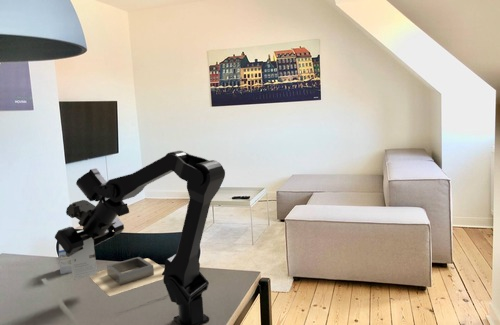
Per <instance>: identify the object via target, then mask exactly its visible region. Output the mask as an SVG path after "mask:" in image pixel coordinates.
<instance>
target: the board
mask: <svg viewBox="0 0 500 325" xmlns="http://www.w3.org/2000/svg"><path fill="white" fill-rule="evenodd" d="M143 259H144V260H145V261H147V262H148V263H150V264H152V265H153V269H154V275H152V276H149V277H146V278H143V279H139V280H136V281H133V282H130V283H127V284H123V285H119V284H118V283H116V282H115V281H114V280H113V279H112V278H111V277H109V276H108V274H107V268H106V269H103V270H99V271H97V275H94V276H90V277H89V279H91V281H93V282H94V283H95V285H97V286H98V287H99V288H100V290H102V292H104V293H105V294H106V295H107V296H108V297H112V296H115V295H118V294H120V293H121V294H122V293H125V292H127V291H130V290H133V289H136V288H137V289H138V288H140V287H142V286H143V287H144V286H147V285H149V284H152V283H157V282H158V281H161V280H163V278H164V275H162V273H163V272H164V269H165V267H163V266H161V265H160V264H158V263H156V262H155V261H154V260H152V259H150V258H143ZM135 269H139V267H138V268H134V269H131V270H127V271H124V272H120V273H125V272H128V271H132V270H135Z"/></svg>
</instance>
